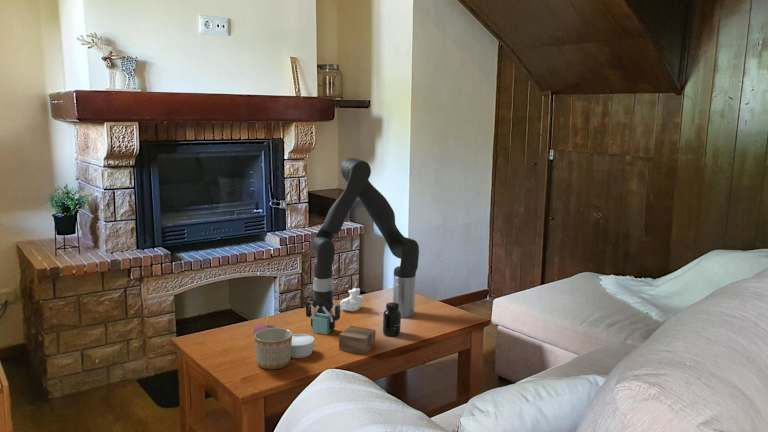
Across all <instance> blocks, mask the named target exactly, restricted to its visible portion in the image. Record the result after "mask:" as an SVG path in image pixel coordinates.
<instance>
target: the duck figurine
mask: <svg viewBox="0 0 768 432" xmlns="http://www.w3.org/2000/svg"><path fill="white" fill-rule="evenodd" d="M347 291H348V293H349V297H347V298H344V299H342V300H341V301H340V302H339V304H340V311H347V312H348V311H349V312H357V311H358V310H359V309H361V308H362V305H363V304H364V301H365V298H364V297H363V295H360V294H361V288H357V287H353V288H352V289H348V290H347Z"/></svg>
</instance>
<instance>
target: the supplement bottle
mask: <svg viewBox="0 0 768 432" xmlns="http://www.w3.org/2000/svg"><path fill="white" fill-rule="evenodd" d="M385 304H386V305H385V310H384V311H383V315H382V316H383V317H382V334H383V335H384V336H385V337H398V336H399V335H400V334H401V324H402V323H401V312H400V311H399V310H398V309H399V304H398V303H394V302H393V301H392V302H391V301H390V302H386V303H385Z"/></svg>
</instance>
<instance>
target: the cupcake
mask: <svg viewBox="0 0 768 432" xmlns="http://www.w3.org/2000/svg"><path fill="white" fill-rule="evenodd" d="M269 318H270V312H268V313H267V316H266V322H265V323H258V324H257V325H255V326H254V327H253V329H252V335H253V336H254V335H255V333H256V332H258V331H260V330H263V329H267V328H276V327H275V326H274V325H273V324H271V323H269V320H270V319H269Z"/></svg>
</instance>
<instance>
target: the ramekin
mask: <svg viewBox="0 0 768 432" xmlns="http://www.w3.org/2000/svg"><path fill="white" fill-rule="evenodd" d="M315 339H316V338H315V337H314V336H312V335H309V334H305V333H292V344H291V355H290V358H294V359H303V358H307V357H310V356H311V354H312V353H313V349H314V345H315V342H316V341H315Z"/></svg>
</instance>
